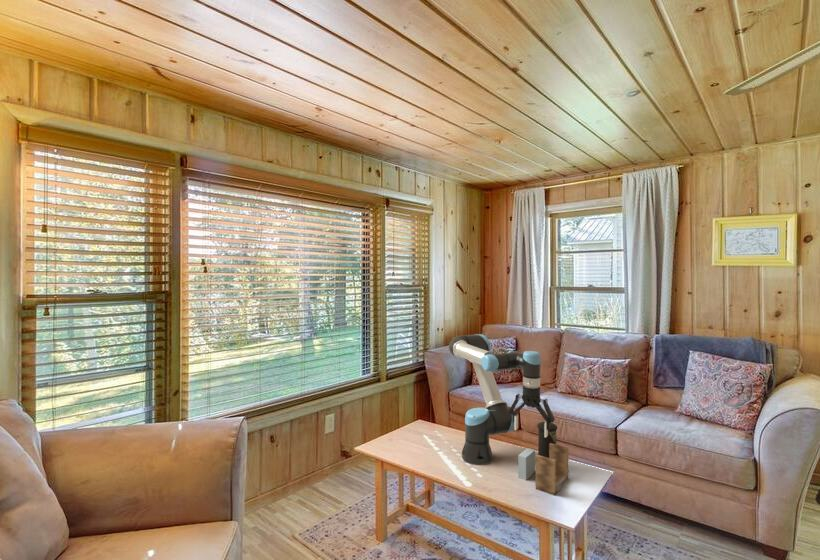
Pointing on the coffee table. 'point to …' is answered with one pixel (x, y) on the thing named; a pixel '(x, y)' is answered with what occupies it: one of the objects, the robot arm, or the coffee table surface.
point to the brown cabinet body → (552, 469)
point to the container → (546, 439)
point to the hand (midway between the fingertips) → (530, 432)
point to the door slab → (526, 464)
